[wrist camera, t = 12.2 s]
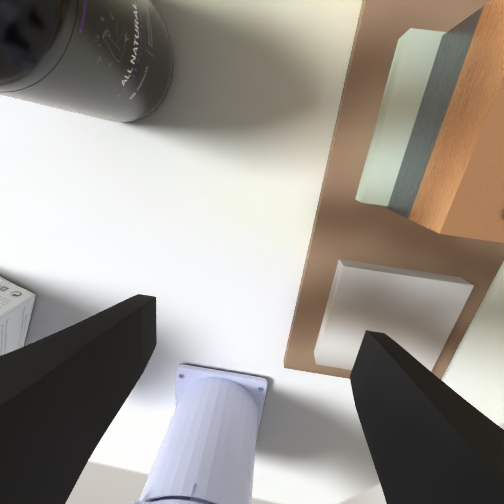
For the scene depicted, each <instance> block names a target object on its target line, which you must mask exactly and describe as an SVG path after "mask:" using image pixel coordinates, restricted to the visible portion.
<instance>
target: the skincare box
mask: <svg viewBox="0 0 504 504" xmlns="http://www.w3.org/2000/svg"><path fill="white" fill-rule="evenodd" d="M35 298H36V295H35V294H34V293H32V292H30V291H28V290H26V289H24V288H21V287H19V286H17V285H15V284H13V283H11V282H9V281H7V280H6V279H4V278H2V277H0V356H1V355H4V354H6V353H9V352H12V351H14V350H17V349H19V348H22V347H24V343H25V339H26V334H27V330H28V326H29V322H30V318H31V313H32V309H33V305H34V301H35Z"/></svg>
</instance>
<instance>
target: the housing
mask: <svg viewBox="0 0 504 504" xmlns="http://www.w3.org/2000/svg"><path fill="white" fill-rule="evenodd" d="M387 209H389V210H391V211H393V212H395V213H397V214H399V215H401V216H403V217H406V218H408V219H410V220H412V221H414V222H416V223H418V224H420V225H422V226H424V227H426V228H428V229H431V230H433V231H435V232H437V233H439V234H444V235H451V236H458V237H465V238H472V239H479V240H486V241H493V242H500V243H504V0H491V1H490V2H488V3H487V4H485V5H484V6H483V7H481V8H480V9H479V10H477V11H476V12H474V13H473V14H472V15H470V16H469V17H467V18H466V19H465V20H463V21H462V22H460V23H459V24H458V25H456V26H455V27H453V28H452V29H451V30H449V31H448V32H447V33H445V34H444V35H442V38H441V41H440V45H439V48H438V51H437V54H436V57H435V60H434V63H433V66H432V70H431V73H430V76H429V79H428V82H427V85H426V88H425V91H424V95H423V98H422V101H421V104H420V107H419V110H418V113H417V116H416V120H415V123H414V126H413V129H412V132H411V135H410V138H409V141H408V145H407V148H406V151H405V154H404V157H403V160H402V163H401V166H400V170H399V173H398V176H397V179H396V182H395V185H394V188H393V191H392V195H391V198H390V201H389V204H388V207H387Z"/></svg>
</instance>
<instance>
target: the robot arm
mask: <svg viewBox="0 0 504 504" xmlns="http://www.w3.org/2000/svg"><path fill="white" fill-rule="evenodd" d="M155 346H156V297H153V296H147V295H140V294H138V295H136V296H133V297H131V298H129V299H127V300H124V301H122V302H120V303H118V304H116V305H114V306H112V307H110V308H108V309H106V310H104V311H102V312H100V313H98V314H96V315H94V316H91V317H89V318H87V319H85V320H83V321H81V322H79V323H77V324H75V325H72V326H70V327H68V328H66V329H63V330H61V331H59V332H57V333H54V334H52V335H50V336H48V337H45V338H43V339H41V340H39V341H36V342H34V343H32V344H29V345H27V346H24V347H22V348H19V349H17V350H14V351H12V352H9V353H6V354H4V355H1V356H0V504H65V503H66V501H67V499H68V497H69V495H70V493H71V492H72V489H73V488H74V486H75V484H76V482H77V480H78V478H79V476H80V474H81V473H82V471H83V469H84V467H85V465H86V463H87V461H88V460H89V458H90V456H91V454H92V453H93V451H94V449H95V448H96V446H97V444H98V443H99V441H100V439H101V438H102V436H103V435H104V433H105V432H106V430H107V428H108V427H109V425H110V424H111V422H112V421H113V419H114V417H115V416H116V414H117V413H118V411H119V410H120V408H121V407H122V405H123V403H124V402H125V400H126V399H127V397H128V396H129V394H130V392H131V391H132V389H133V388H134V386H135V384H136V383H137V381H138V380H139V378H140V376H141V375H142V373H143V372H144V370H145V368H146V365H147V363H148V361H149V359H150V357H151V355H152V353H153V351H154V349H155ZM182 374H183V375H182ZM350 380H351V386H352V391H353V396H354V401H355V406H356V410H357V413H358V416H359V419H360V422H361V425H362V429H363V432H364V435H365V438H366V441H367V444H368V447H369V450H370V453H371V456H372V459H373V462H374V465H375V468H376V471H377V474H378V477H379V480H380V483H381V486H382V489H383V492H384V496H385V499H386V502H387V504H504V430H503V429H502V428H500V427H499V426H498V425H496V424H495V423H494V422H493V421H491V420H490V419H489V418H487V417H486V416H485V415H484V414H482V413H481V412H480V411H478V410H477V409H476V408H475V407H473V406H472V405H471V404H470V403H468V402H467V401H466V400H465V399H463V398H462V397H461V396H460V395H458V394H457V393H456V392H455V391H453V390H452V389H451V388H450V387H449V386H447V385H446V384H445V383H444V382H443V381H441V380H440V379H439V378H438V377H437V376H436V375H434V374H433V373H432V372H431V371H430V370H428V369H427V368H426V367H425V366H424V365H423V364H421V363H420V362H419V361H418V360H417V359H416V358H414V357H413V356H412V355H411V354H410V353H409V352H407V351H406V350H405V349H404V348H403V347H401V346H400V345H399V344H398V343H397V342H395V341H394V340H393V339H392V338H390V337H389V336H388V335H386V334H385V333H380V332H374V331H368V330H366V331H365V334H364V337H363V340H362V343H361V346H360V349H359V351H358V354H357V357H356V360H355V363H354V366H353V368H352V371H351V374H350ZM267 385H268V382H267V380H266V379H265V378H262V377H256V376H250V375H244V374H238V373H232V372H226V371H220V370H214V369H208V368H202V367H196V366H190V365H184V364H181V365H179V366H178V367H177V370H176V408H175V411H174V413H173V416H172V418H171V421H170V423H169V426H168V428H167V431H166V433H165V436H164V438H163V441H162V443H161V446H160V449H159V451H158V454H157V456H156V459H155V461H154V464H153V466H152V469H151V471H150V474H149V476H148V479H147V481H146V484H145V487H144V489H143V491H142V494H141V496H140V499H139V501H137V500H134V501H133V502H132V504H251V499H252V485H253V471H254V456H255V446H256V441H257V436H258V431H259V426H260V421H261V416H262V411H263V406H264V401H265V396H266V391H267ZM259 387H262V388H259Z"/></svg>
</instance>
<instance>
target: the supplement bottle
mask: <svg viewBox="0 0 504 504" xmlns="http://www.w3.org/2000/svg"><path fill="white" fill-rule="evenodd" d="M171 74H172V50H171V44H170V39H169V36H168V32H167V29H166V27H165V24H164V22H163V20H162V18H161V16H160V14H159V13H158V11H157V9H156V8H155V6H154V5H153V3H152V2H151V1H150V0H0V95H4V96H9V97H13V98H17V99H21V100H25V101H29V102H34V103H38V104H42V105H46V106H50V107H54V108H59V109H63V110H67V111H71V112H75V113H79V114H84V115H88V116H92V117H96V118H100V119H105V120H110V121H116V122H130V121H135V120H138V119H141V118H143V117H145V116H147V115H148V114H150V113H151V112H152V111H153V110H154V109H155V108H156V107H157V106H158V105H159V104H160V102H161V101H162V99H163V98H164V96H165V94H166V92H167V89H168V87H169V84H170V80H171Z"/></svg>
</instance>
